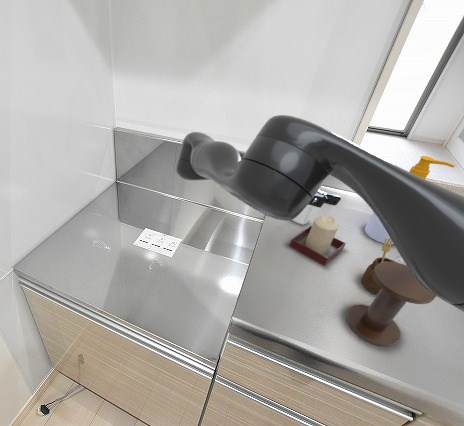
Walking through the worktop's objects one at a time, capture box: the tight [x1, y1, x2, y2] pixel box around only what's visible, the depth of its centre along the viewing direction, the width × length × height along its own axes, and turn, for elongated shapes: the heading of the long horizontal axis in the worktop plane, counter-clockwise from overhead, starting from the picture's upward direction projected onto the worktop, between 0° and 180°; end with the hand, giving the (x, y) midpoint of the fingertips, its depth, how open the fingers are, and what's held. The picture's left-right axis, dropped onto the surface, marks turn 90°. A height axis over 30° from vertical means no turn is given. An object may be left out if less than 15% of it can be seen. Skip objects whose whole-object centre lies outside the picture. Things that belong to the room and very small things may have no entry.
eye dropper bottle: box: [291, 205, 314, 226], centre depth 86 cm, size 4×6×12 cm
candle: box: [304, 214, 340, 256], centre depth 76 cm, size 6×6×10 cm
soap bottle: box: [364, 155, 456, 245], centre depth 76 cm, size 9×9×24 cm
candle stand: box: [345, 261, 437, 348], centre depth 56 cm, size 9×9×14 cm
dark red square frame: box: [289, 225, 347, 267], centre depth 79 cm, size 10×10×2 cm
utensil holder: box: [360, 238, 406, 296], centre depth 65 cm, size 6×6×12 cm
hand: (329, 190), depth 68 cm, fingers open, 8 cm apart
